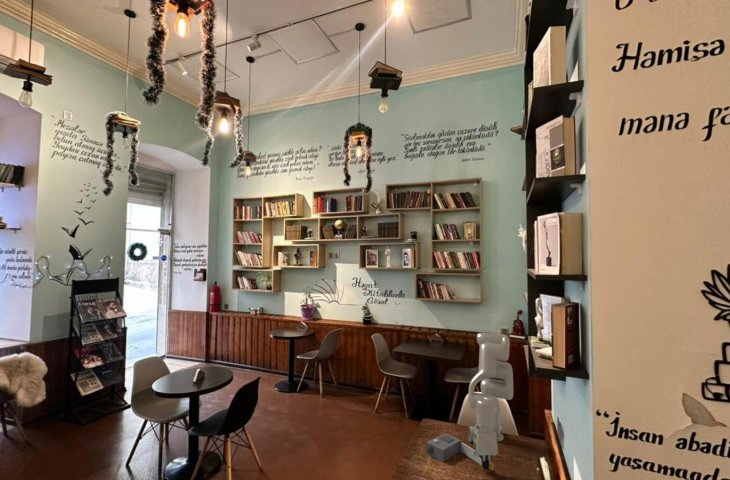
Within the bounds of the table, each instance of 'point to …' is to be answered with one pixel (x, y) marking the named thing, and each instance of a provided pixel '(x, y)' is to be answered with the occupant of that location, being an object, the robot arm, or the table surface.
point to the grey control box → (443, 447)
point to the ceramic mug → (471, 433)
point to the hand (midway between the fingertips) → (485, 468)
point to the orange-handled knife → (472, 454)
